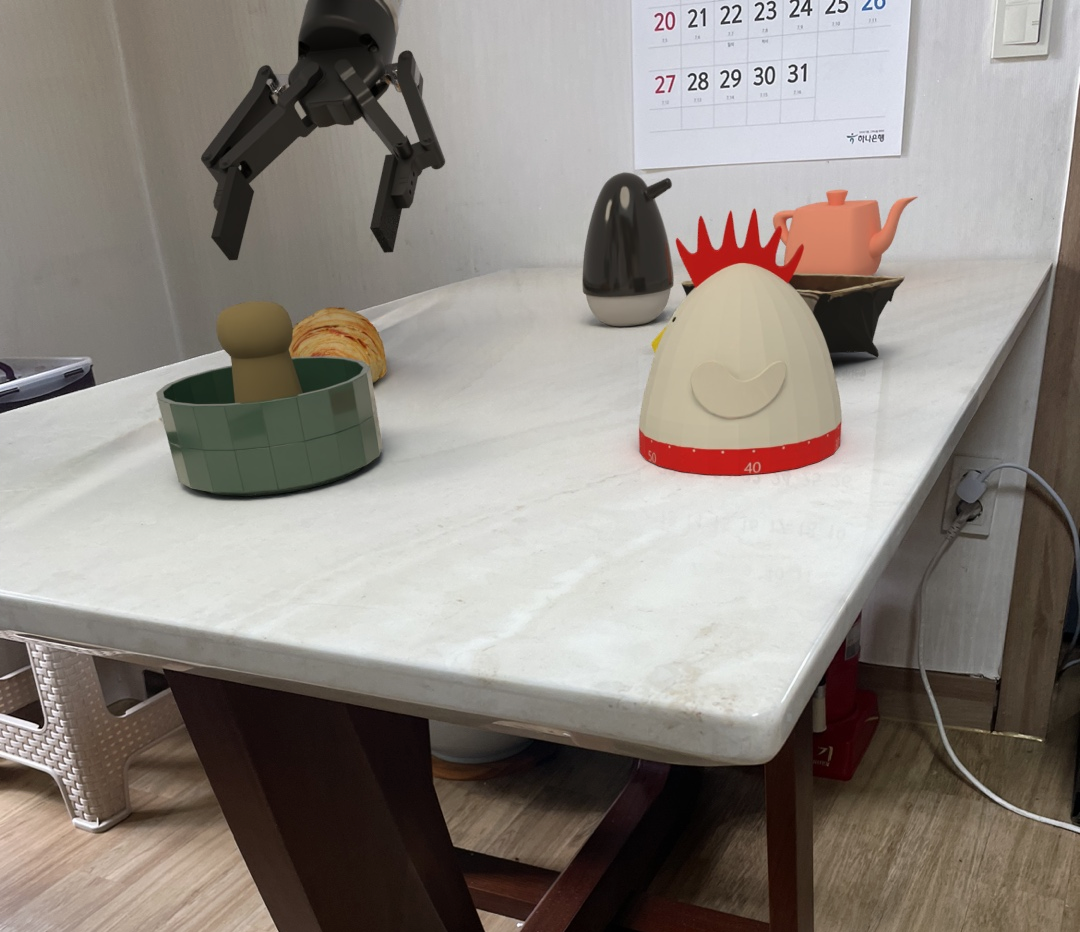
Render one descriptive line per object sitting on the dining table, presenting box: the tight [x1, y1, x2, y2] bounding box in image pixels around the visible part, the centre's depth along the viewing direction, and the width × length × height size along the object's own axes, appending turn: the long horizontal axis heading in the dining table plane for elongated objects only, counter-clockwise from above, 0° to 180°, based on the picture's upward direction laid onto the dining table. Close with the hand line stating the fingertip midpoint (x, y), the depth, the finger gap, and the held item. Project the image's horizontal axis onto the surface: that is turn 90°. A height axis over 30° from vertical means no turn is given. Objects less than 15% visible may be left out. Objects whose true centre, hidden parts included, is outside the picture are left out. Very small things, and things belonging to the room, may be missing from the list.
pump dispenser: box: [581, 171, 674, 327], centre depth 115 cm, size 10×10×15 cm
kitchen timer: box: [638, 208, 843, 476], centre depth 70 cm, size 14×14×15 cm
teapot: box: [772, 189, 918, 276], centre depth 129 cm, size 12×18×10 cm, turn 56°
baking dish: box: [680, 273, 906, 359], centre depth 92 cm, size 14×18×10 cm
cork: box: [216, 300, 303, 403], centre depth 75 cm, size 6×6×11 cm
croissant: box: [289, 306, 388, 383], centre depth 102 cm, size 21×10×8 cm, turn 8°
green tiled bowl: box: [155, 356, 383, 497], centre depth 76 cm, size 15×15×6 cm
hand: (301, 245), depth 80 cm, fingers open, 13 cm apart
